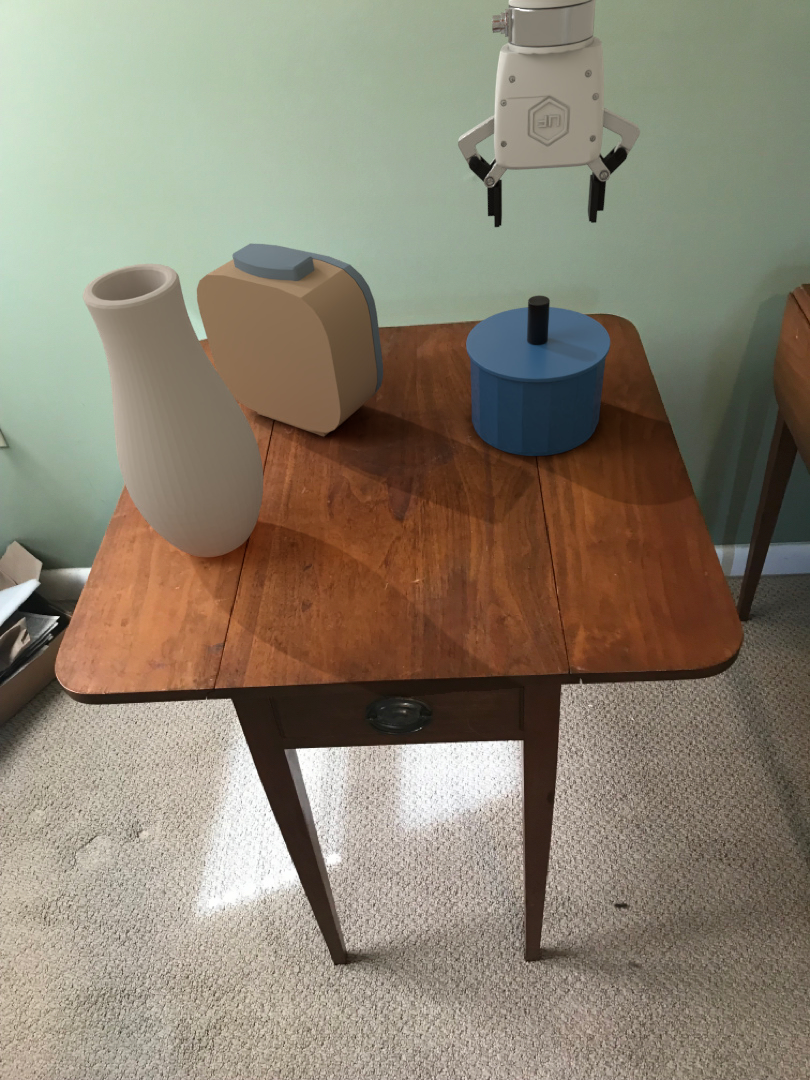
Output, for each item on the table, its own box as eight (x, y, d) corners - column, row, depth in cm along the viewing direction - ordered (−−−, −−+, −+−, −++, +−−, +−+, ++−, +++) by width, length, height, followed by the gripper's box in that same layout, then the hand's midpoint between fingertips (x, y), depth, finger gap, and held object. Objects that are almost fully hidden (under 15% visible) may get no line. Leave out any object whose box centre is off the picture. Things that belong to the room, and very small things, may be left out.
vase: (257, 587, 80) (173, 323, 59) (135, 578, 82) (14, 321, 62) (294, 501, 89) (232, 247, 69) (184, 495, 92) (94, 248, 71)
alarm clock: (390, 411, 101) (372, 250, 86) (347, 450, 96) (320, 285, 81) (272, 375, 110) (237, 223, 95) (227, 408, 105) (182, 254, 90)
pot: (593, 384, 102) (601, 310, 95) (601, 456, 91) (610, 379, 83) (475, 385, 104) (474, 313, 97) (469, 455, 93) (467, 380, 86)
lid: (604, 313, 95) (609, 265, 91) (615, 386, 83) (621, 336, 79) (470, 316, 98) (469, 269, 93) (462, 387, 86) (460, 338, 82)
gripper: (450, 43, 67) (459, 238, 79) (656, 26, 64) (634, 230, 76) (456, 25, 72) (463, 210, 84) (646, 9, 70) (626, 202, 81)
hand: (544, 220), depth 80 cm, fingers open, 9 cm apart
